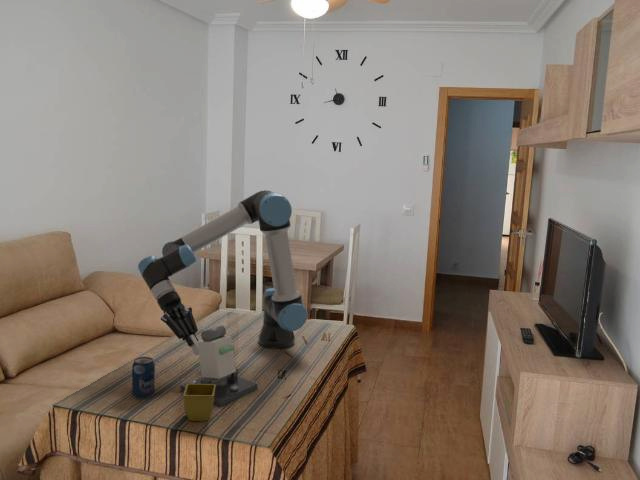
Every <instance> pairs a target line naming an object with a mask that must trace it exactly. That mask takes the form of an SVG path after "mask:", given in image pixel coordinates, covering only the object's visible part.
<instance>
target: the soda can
mask: <svg viewBox="0 0 640 480" xmlns="http://www.w3.org/2000/svg"><path fill="white" fill-rule="evenodd" d="M131 368H132V369H131V371H132V373H131V375H132V376H131V378H132V379H131V392H132V395H133V397H134V398H135V399H137V398H139V400H145V399H149V398H151V397H152V396H154V393H155V392H156V391H155V387H156V384H155V383H156V378H155V377H156V376H155V374H156V371H155V370H156V369H155V368H156V365H155V362H154V358H152V357H149V356H141V357H137V358H135V359H134V360H133V363H132V367H131Z"/></svg>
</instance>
